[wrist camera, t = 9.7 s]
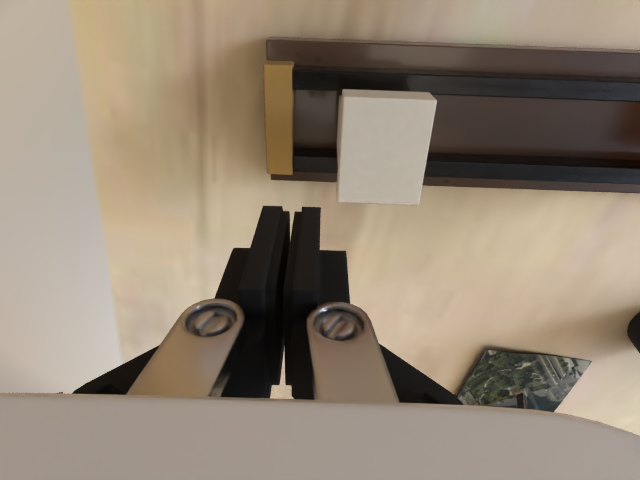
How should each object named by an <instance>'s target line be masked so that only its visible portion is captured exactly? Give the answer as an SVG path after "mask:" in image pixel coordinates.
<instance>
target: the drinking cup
mask: <svg viewBox="0 0 640 480" xmlns="http://www.w3.org/2000/svg"><path fill="white" fill-rule="evenodd" d="M628 336H629V338H630V340H631V341H632V343H633V344H634V346H635V347H636V349H637V350H638V351H639V353H640V313H639V314H637V315H636V316H635V317H634V318H633V320H632V321H631V322H630V324H629V327H628Z"/></svg>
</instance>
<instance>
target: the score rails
mask: <svg viewBox="0 0 640 480" xmlns="http://www.w3.org/2000/svg"><path fill="white" fill-rule="evenodd" d="M263 75H264V101H265V127H266V153H267V173H268V174H282V175H292V174H293V172H308V173H336V174H337V173H338V162H337V149H320V148H294V90H317V91H342V90H343V89H353V90H381V91H408V92H429V93H430V94H431V95H455V96H482V97H510V98H538V99H565V100H593V101H620V102H640V78H633V77H605V76H578V75H550V74H523V73H495V72H467V71H440V70H412V69H385V68H357V67H330V66H302V65H295V66H294V62H293V61H274V60H268V61H266V63H265V64H264V65H263ZM424 177H446V178H473V179H500V180H528V181H555V182H583V183H610V184H638V185H640V160H622V159H595V158H567V157H540V156H512V155H485V154H457V153H430V152H428V155H427V161H426V167H425V172H424Z"/></svg>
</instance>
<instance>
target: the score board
mask: <svg viewBox="0 0 640 480" xmlns="http://www.w3.org/2000/svg"><path fill="white" fill-rule="evenodd" d="M266 50H267V61H268V60H274V61H293V62H294V66H295V65H302V66H330V67H357V68H385V69H412V70H440V71H467V72H495V73H523V74H550V75H578V76H605V77H633V78H640V50H620V49H593V48H565V47H537V46H510V45H482V44H454V43H427V42H399V41H371V40H344V39H316V38H289V37H269V38H268V39H267V40H266ZM340 95H342V91H317V90H294V148H320V149H337V126H338V107H339V96H340ZM432 96H433V97H434V98H435V99H436V100H437V104H436V109H435V115H434V121H433V127H432V132H431V138H430V144H429V150H428V152H430V153H457V154H485V155H512V156H540V157H567V158H595V159H622V160H640V102H620V101H593V100H565V99H538V98H510V97H482V96H455V95H432ZM271 180H290V181H318V182H337V174H336V173H308V172H293V174H292V175H282V174H271ZM422 185H427V186H455V187H482V188H510V189H537V190H564V191H592V192H619V193H640V185H638V184H610V183H583V182H555V181H528V180H500V179H473V178H446V177H424V178H423V184H422Z"/></svg>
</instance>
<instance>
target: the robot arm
mask: <svg viewBox="0 0 640 480" xmlns="http://www.w3.org/2000/svg"><path fill="white" fill-rule="evenodd" d="M320 212H321V207H302V212H295V214H294V220H293V227H292V234H291V241H290V214H289V211H283V208H282V206H263V208H262V211H261V215H260V218H259V221H258V224H257V228H256V231H255V234H254V238H253V241H252V244H251V247H250V248H234V249H233V250H232V253H231V255H230V258H229V261H228V264H227V266H226V269H225V272H224V274H223V277H222V280H221V282H220V285H219V288H218V290H217V293H216V296H215V298H214V299H208V300H203V301H200V302H198V303H195V304H193V305H192V306H190V307H189V308H187V309H186V310H185V311H184V312H183V313H182V314H181V315H180V317H179V318H178V320H177V321H176V323H175V324H174V325H173V327H172V328H171V330H170V331H169V333H168V334H167V336H166V337H165V339H164V340H163V341H162V343H161V344H160V345H159V346H157V347H155V348H153V349H151V350H149V351H147V352H145V353H144V354H142V355H140V356H138V357H136V358H134V359H132V360H130V361H128V362H126V363H124V364H122V365H121V366H119V367H117V368H115V369H113V370H111V371H109V372H107V373H105V374H103V375H102V376H100V377H98V378H96V379H94V380H92V381H90V382H88V383H86V384H85V385H83V386H81V387H80V388H78V389H77V390H75V391H74V392H73V393H72V394H63V392H61V393H0V480H640V436H638V435H636V434H633V433H631V432H628V431H625V430H622V429H619V428H616V427H613V426H610V425H607V424H604V423H601V422H598V421H594V420H590V419H585V418H581V417H577V416H572V415H568V414H562V413H555V412H548V411H541V410H534V409H519V408H505V407H490V406H485V405H480V404H476V405H464V404H463V403H462V401H460V400H459V399H458V398H457V397H456V396H455V395H453V394H452V393H451V392H449V391H448V390H446V389H445V388H443V387H442V386H441V385H439V384H438V383H436V382H435V381H433V380H432V379H430V378H429V377H427V376H426V375H424V374H423V373H421V372H420V371H418V370H417V369H416V368H414V367H413V366H411V365H410V364H408V363H407V362H405V361H404V360H402V359H401V358H399V357H398V356H396V355H395V354H394V353H392V352H391V351H389V350H388V349H386V348H385V347H383V346H382V345H380V344H379V343H378V340H377V337H376V334H375V332H374V329H373V326H372V323H371V320H370V319H369V317H368V315H367V314H366V313H365V312H364V311H363V310H362V309H361V308H359V307H357V306H355V305H353V304H350V297H349V284H348V270H347V257H346V251H330V250H319V248H320ZM284 345H285V381H286V385H292V397H294V399H269V398H270V394H271V387H272V385H279V384H280V377H281V369H282V360H283V352H284Z"/></svg>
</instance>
